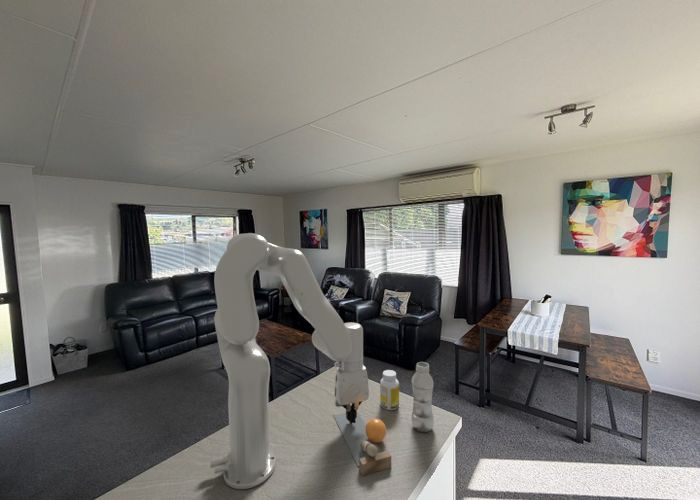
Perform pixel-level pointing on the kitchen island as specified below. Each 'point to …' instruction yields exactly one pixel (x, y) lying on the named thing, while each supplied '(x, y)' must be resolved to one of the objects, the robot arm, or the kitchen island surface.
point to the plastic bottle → (422, 398)
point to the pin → (369, 448)
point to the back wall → (375, 463)
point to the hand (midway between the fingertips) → (351, 420)
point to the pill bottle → (389, 390)
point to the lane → (354, 435)
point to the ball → (375, 430)
